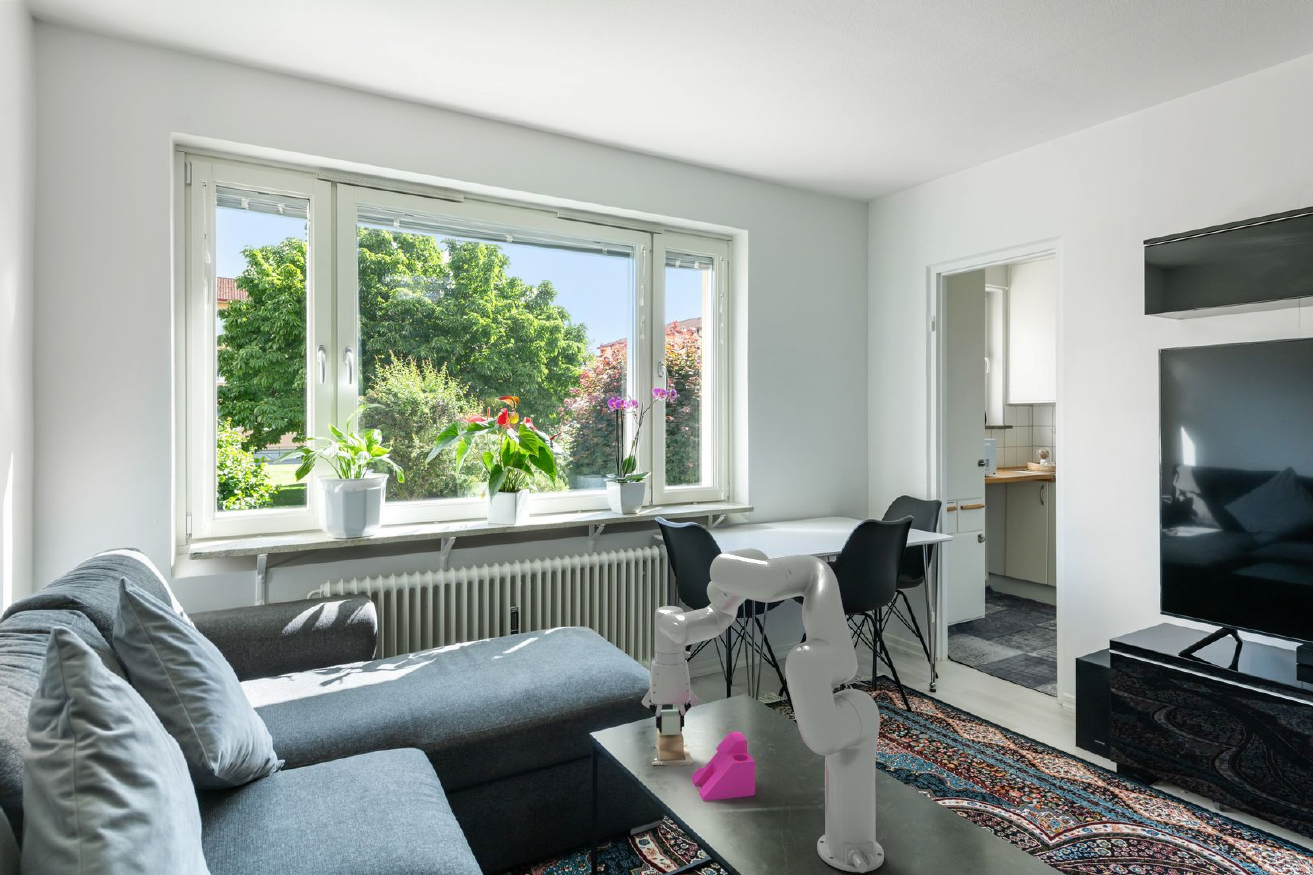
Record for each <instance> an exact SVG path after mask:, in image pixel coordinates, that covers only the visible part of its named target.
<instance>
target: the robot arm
mask: <svg viewBox="0 0 1313 875" xmlns="http://www.w3.org/2000/svg"><path fill="white" fill-rule="evenodd" d="M709 577H710V580H711V581H709V583H708V584H707V587H706V594H707V597H708V600H709V602H710V603H709V605H707V606H706V607H704V608H700V609H699V608H698V609H695V610H691V611H686V612H684V610H683V608H682V607H678V606H677V605H676V606H674V605H664V606H660V607H658V608H656V610H655V611H654V660H652V661H651V664H650V668H649V669H650V670H649V682H648V684H649V685H648V691H647V692H646V693H645V695H644V697H643V698H642V700H641V704H642V706H644V707H646V708H648V709H649V710H650V711H651V712H652V713H653V714H654V715H655V727H656V729H657V730H659V732H660V733H662V716H661V710H663V705H678V712H679V714H680V732H683V728H685V715H686V713H687V712H688V711H689V710H690V709H691V708H692V707H693V706H694V705H697V703H698V702H699V699H698V697H697V696H696V694H695V693H694V691H693V690H692V689H691V678H690V677H691V676H690V670H689V664H688V661H687V660H686V659H688V658H691V651H687V650H685V649H686V648H685V646H689V645H694V644H697V643H700V642H704V641H707V640H708V641H709V640H712V639H714V638H717V637H718V636H720V635H721V634H722V633H724V632H725V631H726V630H727V629H728V627H729V628H730V626H731V625H732V624H733V622H735V620H736V618H737V616H738V610H739V607H740V606H741V605H742V604H743V603H744V602H745V601H746V600H751V601H756V602H761V603H774V602H779V601H783V600H788V599H792V598H795V597H803V603H802V607H801V618H802V619H801V620H802V624H803V628H804V632H805V637H806V641H804V642H801V643H798V644H797V645H795V646H794V647H792V648H791V649H790V651H788V655H787V656H786V660H785V666H784V668H785V669H784V670H785V678H786V679H785V680H786V684H787V688H788V692H789V695H790V700H791V704H792V707H793V712H794V717H795V720H796V723H797V727H798V730H799V731H798V732H799V733H800V736H801V739H802V740H803V742H804V744H805V745H806V747H808V748H809V749H810V750H811V751H812V752H813V753H814V754H817V755H820V756H825V760H824V804H825V805H824V820H825V822H824V823H825V824H824V825H825V826H824V827H825V828H824V829H825V831H824V832H825V833H824V834H823V835H822V836H820V838H819V839H818V841H817V844H816V845H817V846H816V850H817V854H818V855H819V857H820V858H821V859H822V860H823V861H824V862H825V863H827V864H828V865H830V866H832V867H834V868H835V869H839V870H840V871H846V872H851V873H862V874H864V873H867V872H871V871H874V870H877V869H878V868H879V867H881V866H882V865H883V864H884V862H885V861H884V860H885V853H884V849H883V847H882V845H881V844H879V842H877V840H876V834H877V833H876V759H877V758H876V757H877V756H876V755H877V747H878V746H877V745H878V740H879V733H880V725H881V717H880V716H881V714H880V710H879V707H878V705H877V704H876V701H875V700H874V699H873V697H872V696H870V694H868V693H867V692H865V691H863V690H861V689H856V688H849V689H848V688H847V689H843V690H840V691H837V692H833V688H836V687H838V686H841V685H842V684H845V683H848V682H849V681H850V680H852V679H853V678H854V677H855V676H856V674H857V673H858V669H859V667H858V666H859V665H858V658H857V654H856V653H857V652H856V650H855V647H854V643H853V639H852V635H851V632H850V627H849V625H848V621H847V618H846V615H845V610H844V608H843V607H844V606H843V601H842V597H841V592H840V585H839V582H838V578H837V576H836V574H835V573H834V570H833V569H832V568H831V566H830V565H829V564H828V563H827V562H826V561H824V560H823V559H822V558H820V557H818V556H814V555H811V554H793V555H786V556H785V555H784V556H782V557H781V556H780V557H776V558H771V559H769V557H768V556H767V554H766V553H764V551H762V550H759V549H758V548H757V549H756V548H742V549H736V550H730V551H724V552H722V553H720V554H718V555H716V557H715V558H714V559H713V560H712V562H711V565H710V567H709Z"/></svg>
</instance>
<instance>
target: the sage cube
mask: <svg viewBox="0 0 1313 875" xmlns="http://www.w3.org/2000/svg"><path fill="white" fill-rule="evenodd" d="M678 711H679V708H678V709H661V716H662V735H676V734H680V714H679V712H678Z"/></svg>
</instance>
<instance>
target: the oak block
mask: <svg viewBox="0 0 1313 875" xmlns="http://www.w3.org/2000/svg"><path fill="white" fill-rule="evenodd" d="M682 732H683V731H682ZM682 732H680V734H676V735H662V733H660V732H659V729H656V747H657V751H658V756H659V760H669V759H684V745H685V744H684V735H683V733H682Z"/></svg>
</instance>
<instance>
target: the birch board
mask: <svg viewBox="0 0 1313 875" xmlns="http://www.w3.org/2000/svg"><path fill="white" fill-rule="evenodd" d="M656 756H657V758H655V759H654V760H657V761H655V762H652V763H651V766H652V765H654V764H655V765H658V764H659V765H661V764H662V765H670V766H688V765H689V766H690V764H693V765H694V762H693V759H692V756H691V753H690V750H689V747H688V745H687V744H686V745H685V744H684V759H669V760H659V756H658V754H657V755H656Z"/></svg>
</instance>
